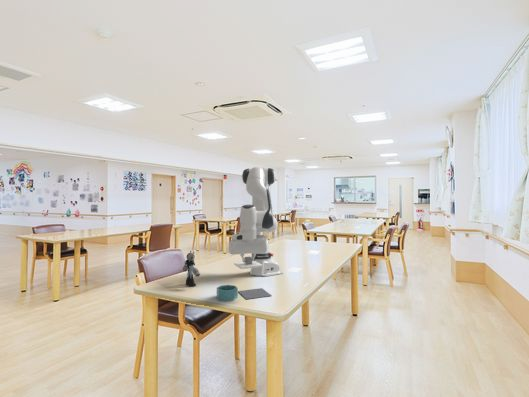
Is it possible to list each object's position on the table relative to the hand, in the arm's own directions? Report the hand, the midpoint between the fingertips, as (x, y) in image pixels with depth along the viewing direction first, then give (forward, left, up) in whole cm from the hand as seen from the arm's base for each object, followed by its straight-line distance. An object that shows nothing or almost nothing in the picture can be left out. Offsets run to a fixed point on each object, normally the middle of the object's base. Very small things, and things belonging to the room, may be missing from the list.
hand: (248, 261), depth 160 cm
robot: (+25, -30, -18) cm, 43 cm away
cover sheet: (0, 0, -2) cm, 2 cm away
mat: (-4, 0, -18) cm, 18 cm away
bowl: (+11, 0, -18) cm, 21 cm away
